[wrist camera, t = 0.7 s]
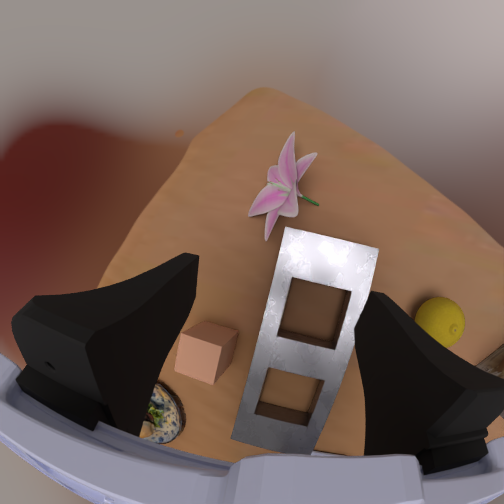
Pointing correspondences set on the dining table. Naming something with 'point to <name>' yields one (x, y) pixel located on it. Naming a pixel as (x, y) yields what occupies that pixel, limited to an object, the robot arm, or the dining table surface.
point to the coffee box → (494, 365)
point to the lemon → (441, 320)
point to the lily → (282, 187)
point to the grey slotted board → (304, 341)
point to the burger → (163, 417)
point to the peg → (205, 351)
